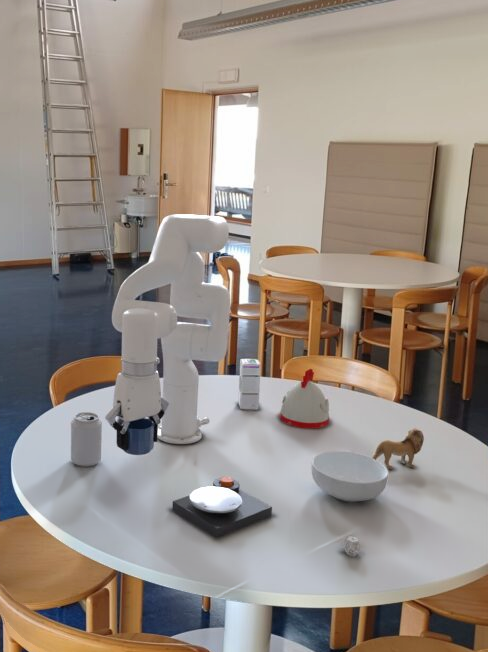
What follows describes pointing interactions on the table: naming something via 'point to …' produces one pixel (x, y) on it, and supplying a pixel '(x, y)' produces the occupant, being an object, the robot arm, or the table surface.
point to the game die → (352, 546)
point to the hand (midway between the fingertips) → (137, 443)
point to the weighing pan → (215, 499)
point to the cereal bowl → (349, 475)
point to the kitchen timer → (305, 405)
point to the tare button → (226, 481)
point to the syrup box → (249, 384)
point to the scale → (228, 521)
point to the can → (86, 439)
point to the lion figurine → (401, 448)
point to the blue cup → (140, 436)
